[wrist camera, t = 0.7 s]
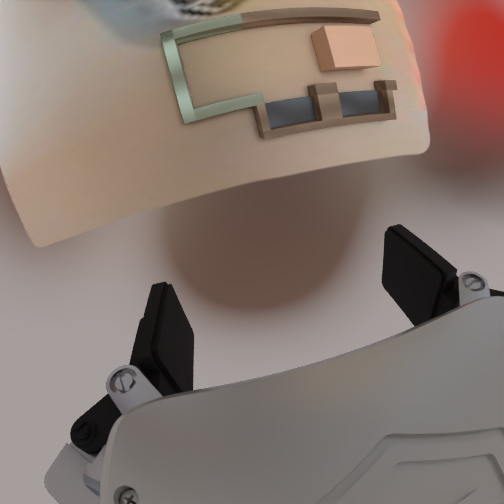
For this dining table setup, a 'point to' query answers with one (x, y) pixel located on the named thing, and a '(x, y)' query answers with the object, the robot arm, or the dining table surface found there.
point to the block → (345, 48)
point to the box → (292, 110)
